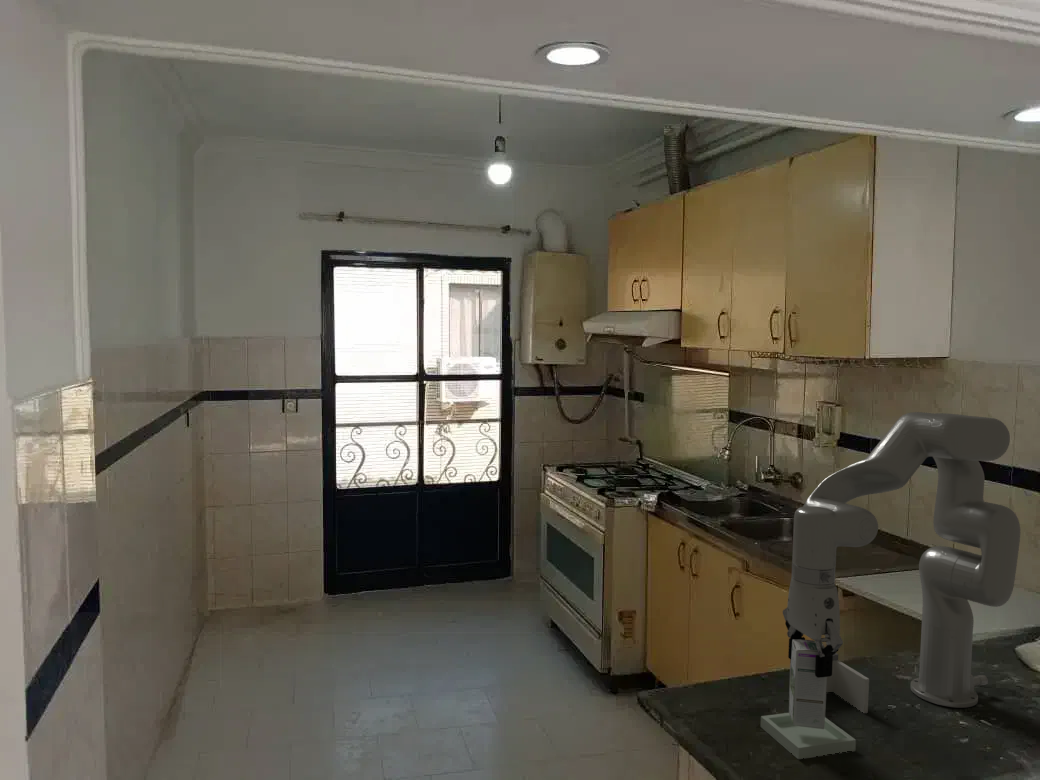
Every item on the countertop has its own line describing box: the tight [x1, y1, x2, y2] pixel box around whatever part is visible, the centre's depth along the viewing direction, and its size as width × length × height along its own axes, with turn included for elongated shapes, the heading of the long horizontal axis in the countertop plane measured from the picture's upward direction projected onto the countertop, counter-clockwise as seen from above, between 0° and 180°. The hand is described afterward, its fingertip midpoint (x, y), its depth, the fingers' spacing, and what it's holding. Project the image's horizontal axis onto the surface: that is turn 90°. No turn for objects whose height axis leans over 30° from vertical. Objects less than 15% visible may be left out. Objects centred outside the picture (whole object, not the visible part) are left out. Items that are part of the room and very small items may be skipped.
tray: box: [759, 712, 857, 760], centre depth 145 cm, size 12×12×2 cm
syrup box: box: [788, 639, 827, 729], centre depth 144 cm, size 6×6×14 cm
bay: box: [788, 652, 870, 714], centre depth 159 cm, size 11×10×8 cm
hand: (809, 666), depth 144 cm, fingers closed on syrup box, 7 cm apart
